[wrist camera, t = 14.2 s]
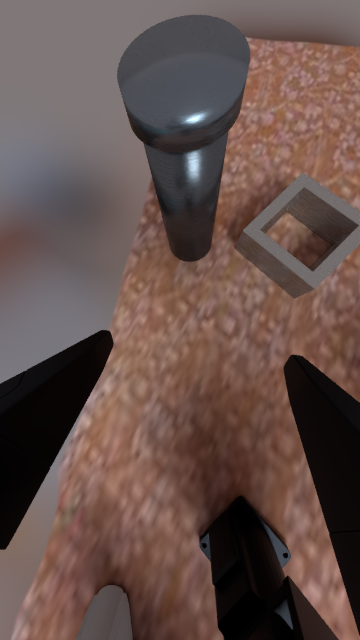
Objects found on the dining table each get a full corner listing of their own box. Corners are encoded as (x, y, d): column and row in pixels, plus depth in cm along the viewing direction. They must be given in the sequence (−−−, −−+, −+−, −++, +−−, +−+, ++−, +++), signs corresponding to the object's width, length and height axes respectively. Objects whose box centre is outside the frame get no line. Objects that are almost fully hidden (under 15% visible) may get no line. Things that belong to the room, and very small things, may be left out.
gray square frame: (348, 244, 21) (378, 224, 17) (294, 298, 20) (314, 289, 17) (286, 199, 22) (302, 172, 19) (235, 248, 22) (242, 230, 18)
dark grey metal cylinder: (225, 241, 22) (280, 51, 8) (189, 274, 22) (176, 139, 8) (191, 211, 23) (185, -3, 9) (156, 242, 23) (92, 73, 9)
